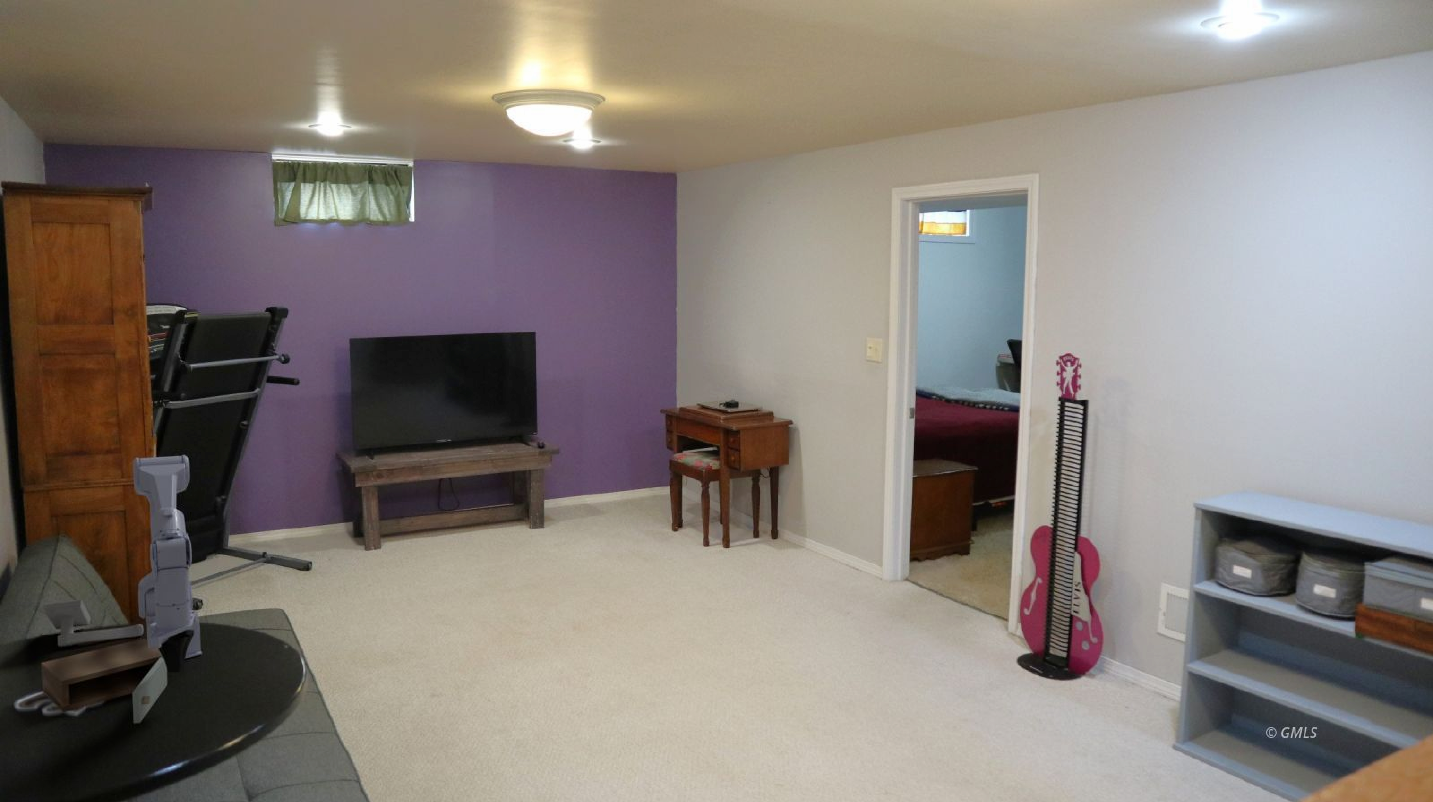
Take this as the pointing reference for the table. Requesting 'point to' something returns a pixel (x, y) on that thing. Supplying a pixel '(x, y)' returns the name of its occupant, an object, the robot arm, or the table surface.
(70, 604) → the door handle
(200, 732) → the table surface
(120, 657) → the walnut cabinet
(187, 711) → the table surface
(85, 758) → the table surface
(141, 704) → the cabinet door
